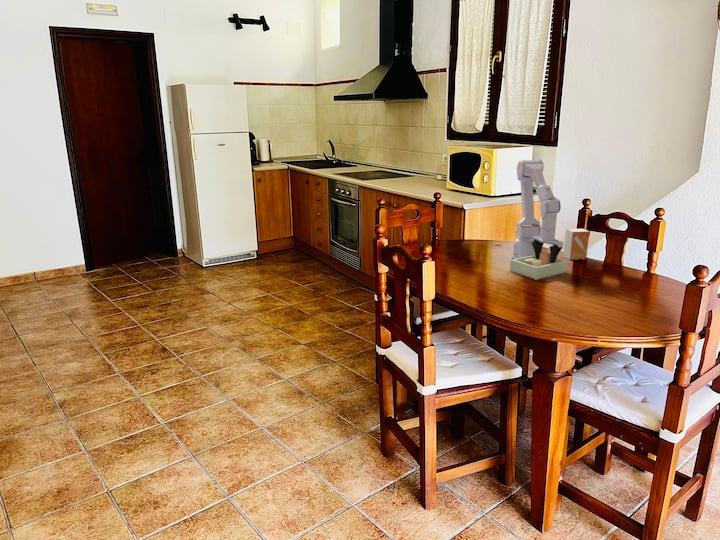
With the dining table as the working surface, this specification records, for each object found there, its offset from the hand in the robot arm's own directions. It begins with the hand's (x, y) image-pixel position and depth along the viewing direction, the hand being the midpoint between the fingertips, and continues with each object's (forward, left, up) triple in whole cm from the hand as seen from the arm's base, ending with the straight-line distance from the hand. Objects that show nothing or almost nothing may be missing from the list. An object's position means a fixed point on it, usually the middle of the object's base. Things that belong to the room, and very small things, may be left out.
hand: (545, 260), depth 226 cm
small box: (-6, +27, -5) cm, 28 cm away
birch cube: (0, -8, -4) cm, 9 cm away
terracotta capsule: (0, 0, -4) cm, 4 cm away
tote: (0, -4, -4) cm, 6 cm away
